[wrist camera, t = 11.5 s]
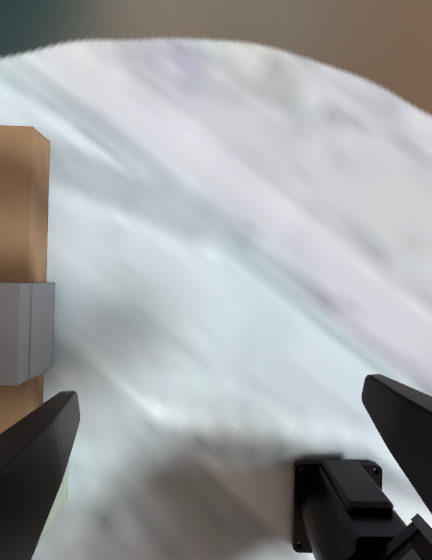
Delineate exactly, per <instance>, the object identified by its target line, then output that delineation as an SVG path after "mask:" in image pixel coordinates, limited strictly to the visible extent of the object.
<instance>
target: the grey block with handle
mask: <svg viewBox="0 0 432 560" xmlns="http://www.w3.org/2000/svg"><path fill="white" fill-rule="evenodd" d="M54 301H55V283H18V282H0V385H16V386H17V385H19V384H21V383H23V382H25V381H27V380H28V379H32V378H34V377H35V376H37V375H39V374H41V373H43V372H45V371H46V370H48V369H50V368H52V367H53V338H54Z"/></svg>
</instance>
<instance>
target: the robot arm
mask: <svg viewBox="0 0 432 560" xmlns="http://www.w3.org/2000/svg"><path fill="white" fill-rule="evenodd" d="M362 402H363V404H364V406H365V408H366V410H367V412H368V414H369V415H370V417H371V419H372V421H373V423H374V424H375V426H376V428H377V430H378V432H379V433H380V435H381V437H382V439H383V441H384V442H385V444H386V446H387V447H388V449H389V451H390V452H391V454H392V455H393V457H394V459H395V460H396V461H397V463H398V464H399V466H400V467H401V469H402V470H403V472H404V473H405V475H406V476H407V478H408V479H409V481H410V482H411V484H412V485H413V487H414V488H415V490H416V491H417V493H418V494H419V496H420V497H421V499H422V500H423V502H424V503H425V505H426V506H427V508H428V509H429V511H430V512H431V514H432V396H429V395H427V394H425V393H422V392H420V391H418V390H415V389H413V388H411V387H408V386H406V385H404V384H402V383H399V382H397V381H395V380H392V379H390V378H388V377H385V376H383V375H380V374H372V375H367V376H366V378H365V381H364V386H363V391H362ZM79 421H80V410H79V403H78V396H77V393H76V392H75V391H63V392H60V393H58V394H56V395H55V396H54V397H52V398H51V399H49V400H48V401H46V402H45V403H44V404H42V405H41V406H39V407H38V408H36V409H35V410H34V411H32V412H31V413H29V414H28V415H26V416H25V417H24V418H22V419H21V420H19V421H18V422H16V423H15V424H14V425H12V426H11V427H9V428H8V429H6V430H5V431H4V432H2V433H1V434H0V560H31V559H32V556H33V554H34V551H35V549H36V546H37V544H38V541H39V539H40V536H41V534H42V531H43V529H44V526H45V524H46V521H47V519H48V516H49V514H50V511H51V509H52V506H53V504H54V501H55V499H56V496H57V493H58V491H59V488H60V486H61V483H62V480H63V477H64V474H65V471H66V467H67V464H68V460H69V457H70V453H71V450H72V446H73V443H74V440H75V436H76V433H77V429H78V426H79ZM301 467H303V469H302V470H300V471H299V470H298V469H299V468H301ZM375 468H376V469H375ZM373 469H375V471H373V472H372V470H373ZM411 520H412V522H411V523H410V524H409V525H408V526H407V525H406V524H405V523H404V522H403V520H402V519H401V518H400V517H399V515H398V514H397V513H396V512H395V510H394V509H393V504H392V503H391V501H390V500H389V499H388V498H387V496H386V495H385V494H384V493H383V491H382V469H381V467H380V466H379V465H378V464H377V463H376V462H372V461H357V460H323V461H303V460H300V461H297V462H295V463H294V466H293V491H292V528H291V543H292V546H293V549H294V550H295V551H296V552H299V553H313V554H314V557H315V560H432V528H431V527H430V526H429V525H428V524H427V523H426V522H425V521H424V520H423V518H422V517H421V516H420V515H419V514H416V515H415V516H414V517H413V518H412V519H411ZM298 542H301V543H300V544H297V543H298Z"/></svg>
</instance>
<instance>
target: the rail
mask: <svg viewBox="0 0 432 560" xmlns="http://www.w3.org/2000/svg"><path fill="white" fill-rule="evenodd" d="M49 157H50V141H49V140H48V139H46V138H45V137H44V136H43V135H42V134H41V133H39V132H38V131H37V130H36V129H35V128H34V127H28V126H2V125H0V282H18V283H46V265H47V229H48V193H49ZM43 373H44V372H43ZM43 373H41V374H39V375H37V376H35V377H34V378H32V379H28V380H27V381H25V382H23V383H21V384H19V385H17V386H16V385H0V434H1V433H2V432H4V431H5V430H6V429H8V428H9V427H11V426H12V425H14V424H15V423H16V422H18V421H19V420H21V419H22V418H24V417H25V416H26V415H28V414H29V413H31V412H32V411H34V410H35V409H36V408H38V407H39V406H41V405H42V404H43Z"/></svg>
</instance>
